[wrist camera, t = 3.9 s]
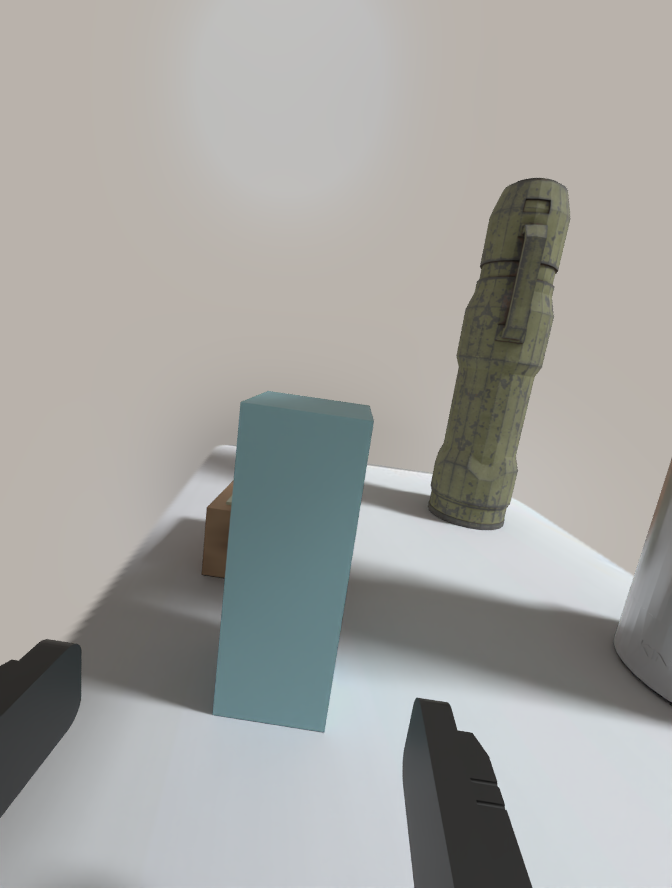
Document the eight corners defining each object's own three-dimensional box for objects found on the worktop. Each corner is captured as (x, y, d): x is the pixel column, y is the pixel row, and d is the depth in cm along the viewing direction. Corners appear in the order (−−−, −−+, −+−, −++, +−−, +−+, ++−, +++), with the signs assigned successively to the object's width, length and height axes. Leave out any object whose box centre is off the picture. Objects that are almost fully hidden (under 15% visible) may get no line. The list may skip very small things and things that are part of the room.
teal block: (330, 653, 23) (369, 405, 20) (324, 732, 18) (373, 421, 15) (242, 639, 23) (268, 391, 20) (212, 714, 18) (240, 402, 16)
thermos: (435, 528, 43) (511, 154, 36) (420, 492, 55) (476, 203, 48) (521, 541, 43) (615, 166, 36) (488, 503, 55) (554, 213, 47)
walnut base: (323, 541, 37) (331, 485, 36) (314, 591, 29) (324, 522, 28) (234, 528, 37) (239, 472, 36) (201, 574, 29) (207, 504, 28)
